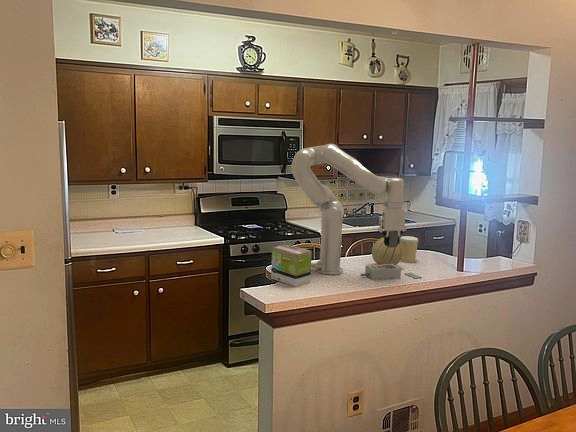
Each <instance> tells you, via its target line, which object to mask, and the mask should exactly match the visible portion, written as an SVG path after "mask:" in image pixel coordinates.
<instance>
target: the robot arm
mask: <svg viewBox="0 0 576 432" xmlns="http://www.w3.org/2000/svg"><path fill="white" fill-rule="evenodd" d="M321 164H328V165H329V166H331V167H332V168H334V169H335V170H337V171H338V172H339V173H341V174H342V175H345V176H346V177H347V178H348V179H349V180H352V181H353V182H355V184H357V185H359V186H360V187H362V188H363V189H365V190H366V191H367V192H369V193H371V194H373V195H375V196H380V195H383V194H384V193H385V201H384V202H383V203H382V206H383V210H382V213H381V220H380V225H379V226H378V228H377V231H378V232H379V233H381V235H383V238H384V244H385V245H387V246H389V237H388V236H389V231H397V232H398V241H397V245H398V243H399V244H400V237H401V236H402V234H403V233H404V232H405V231H407V227H406V225H405V224H406V218H405V217H406V213H405V209H404V208H403V201H404V199H403V198H404V187H405V186H404V185H405V184H404V183H405V181H404V179H403V178H401V177H383V176H377V175H376V174H374V173H373V172H371V171H370V170H368V169H367V168H366V167H364V165H362V163H361V162H360V161H359V160H357V158H355V157H353V156H351V155H350V154H348V153H346V151H344V150H342V149H340V148H339V146H338V145H337V144H334V143H327V144H323V145H317V146H311V147H305V148H302V149H300V150H298V151H297V152H296V153H295V154H294V157H293V159H292V162H291V172H292V173H291V174H292V175H293V178H294V179H295V181H296V183H297V184H298V186H299V187H300V188H301V190H302V191H303V193H304V194H305V195H306V197H307V198H308V199H309V201H310V203H311V204H312V205H314V206H316V207H318V209H320V211H321V212H322V213H321V217H320V218H321V221H320V223H321V230H320V234H321V235H320V254H319V260H317V262H315V263H314V262H311V268H314V269H315V271H316V272H317V273H319V274H323V275H329V276H330V275H333V276H334V275H340V274H343V273H344V269H343V268H342V267H341V255H342V254H341V252H342V238H343V237H342V236H343V220H344V214H345V209H344V207H343V205H342V204H341V202H340V200H339V199H338V198H337V197H336V196H335V194H334V193H333V191H332V190H331V189H330V188H329V187H328V185H326V184H324V183H321V181H320V180H319V179H318V177H317V176H316V175H315V173H314V172H313V171H312V168H311V166H315V165H321Z"/></svg>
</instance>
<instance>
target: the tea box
mask: <svg viewBox="0 0 576 432" xmlns="http://www.w3.org/2000/svg"><path fill="white" fill-rule="evenodd" d="M312 255H313V252H312V250H311V249H310V250H309V249H306V248H303V247H299V246H295V245H291V244H283V245H278V246H274V247H271V268H270V269H271V272H270V273H271V274H270V279H271V280H274V281H277V282H280V283H284V284H286V285H289V286H291V287H294V288H297V287H301V286H303V285H307V284H310V283H311V271H312V267H311V263H312Z"/></svg>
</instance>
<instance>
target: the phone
mask: <svg viewBox="0 0 576 432" xmlns="http://www.w3.org/2000/svg"><path fill="white" fill-rule="evenodd" d="M403 275H405V276H407V277H409V278H411V277H412V278H411V279H414V280H417V279H422V276H419V275H418V274H415V273H412V272H406V273H405V272H404V273H403Z"/></svg>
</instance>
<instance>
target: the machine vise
mask: <svg viewBox="0 0 576 432" xmlns="http://www.w3.org/2000/svg"><path fill="white" fill-rule="evenodd" d="M364 269H365V271H364V273H360V277H368V278H369V279H371V280H373V281H374V280H388V279H389V280H390V279H391V278H393V279H401V277H402V275H401V274H402V268H401V267H399V266H397V265H394V264H382V265H379V264H365V268H364Z"/></svg>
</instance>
